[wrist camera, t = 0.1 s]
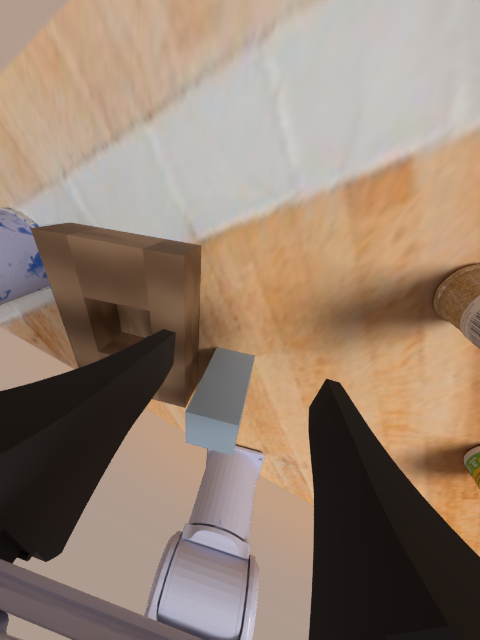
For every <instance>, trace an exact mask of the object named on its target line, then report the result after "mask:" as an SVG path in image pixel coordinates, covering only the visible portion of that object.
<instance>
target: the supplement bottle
mask: <svg viewBox="0 0 480 640" xmlns="http://www.w3.org/2000/svg"><path fill="white" fill-rule="evenodd" d="M464 464H465V466H466V468H467V469H468V471H469V473H470V474H471V476H472V477H473V479H474V481H475V482H476V484H477V485H478V487H479V489H480V446H478V447H475V448H473V449H471V450H469V451H468V452H467V453H466V454H465V456H464Z"/></svg>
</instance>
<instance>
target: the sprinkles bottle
mask: <svg viewBox="0 0 480 640" xmlns="http://www.w3.org/2000/svg"><path fill="white" fill-rule="evenodd" d="M433 305H434V309H435V311H436V313H437V314H438V315H440V316H441V318H442V319H444V320H446V321H448V322H450V323H451V324H453V325H454V326H455V327H456V328H458V329H459V330H460V331H461V332H462V333H463V334H464V336H465V337H466V338H467V339H468V340H469V341H471V342H472V343H473V344H474V345H475V346H476V347H478V348H479V349H480V264H476V265H471V266H468V267H465V268H462V269H460V270H458V271H456V272H455V273H453V274H452V275H450V276H449V277H448V278H446V279H445V280H444V281H443V283H442V284H441V285H440V286H439V287H438V288H437V290H436V293H435V295H434V301H433Z"/></svg>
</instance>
